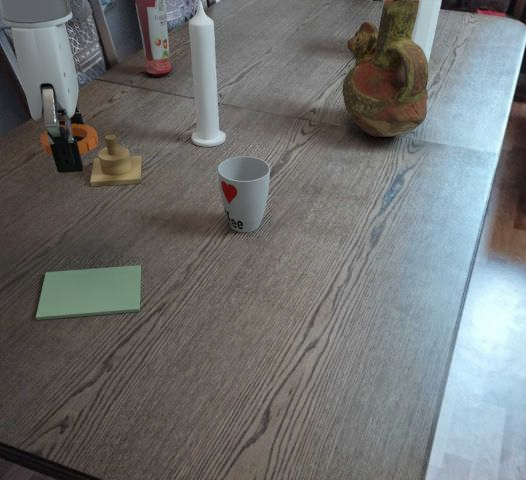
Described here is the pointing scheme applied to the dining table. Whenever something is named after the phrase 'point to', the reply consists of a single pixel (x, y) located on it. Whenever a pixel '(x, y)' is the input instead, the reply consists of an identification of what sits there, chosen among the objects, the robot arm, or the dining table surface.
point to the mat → (90, 292)
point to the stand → (115, 165)
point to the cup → (244, 191)
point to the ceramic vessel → (387, 73)
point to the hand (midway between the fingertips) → (73, 155)
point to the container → (425, 24)
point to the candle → (204, 80)
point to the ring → (78, 130)
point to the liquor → (154, 36)
